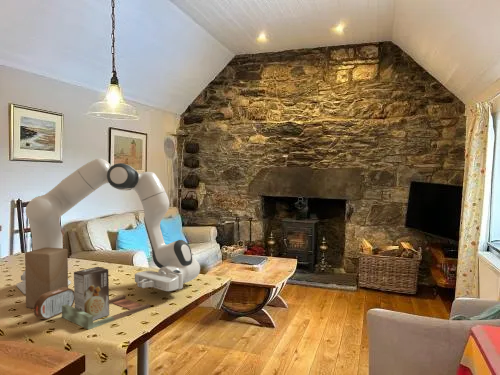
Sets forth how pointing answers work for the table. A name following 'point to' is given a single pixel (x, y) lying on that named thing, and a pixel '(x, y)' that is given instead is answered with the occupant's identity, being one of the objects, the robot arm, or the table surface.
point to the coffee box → (92, 291)
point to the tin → (53, 302)
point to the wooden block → (45, 272)
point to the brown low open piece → (87, 319)
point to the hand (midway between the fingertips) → (139, 285)
